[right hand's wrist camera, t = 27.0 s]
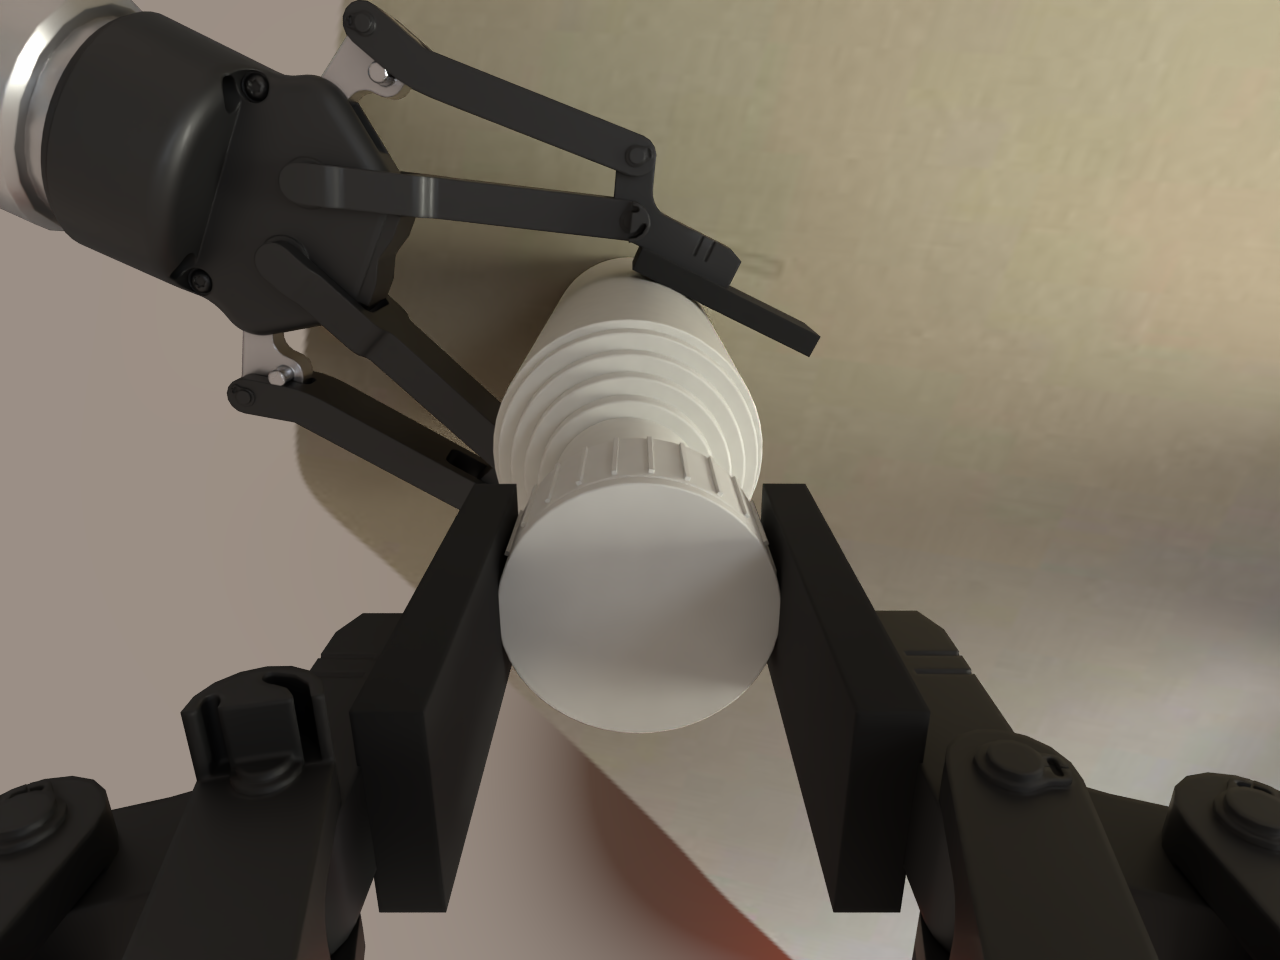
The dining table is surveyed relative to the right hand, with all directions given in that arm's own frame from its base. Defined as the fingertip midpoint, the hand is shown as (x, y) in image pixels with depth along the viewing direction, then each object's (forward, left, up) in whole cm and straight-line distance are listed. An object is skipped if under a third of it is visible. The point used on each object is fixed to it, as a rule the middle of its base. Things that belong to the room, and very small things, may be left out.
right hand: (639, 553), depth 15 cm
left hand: (-2, +4, -14) cm, 15 cm away
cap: (0, 0, +2) cm, 2 cm away
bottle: (0, 0, -21) cm, 21 cm away
